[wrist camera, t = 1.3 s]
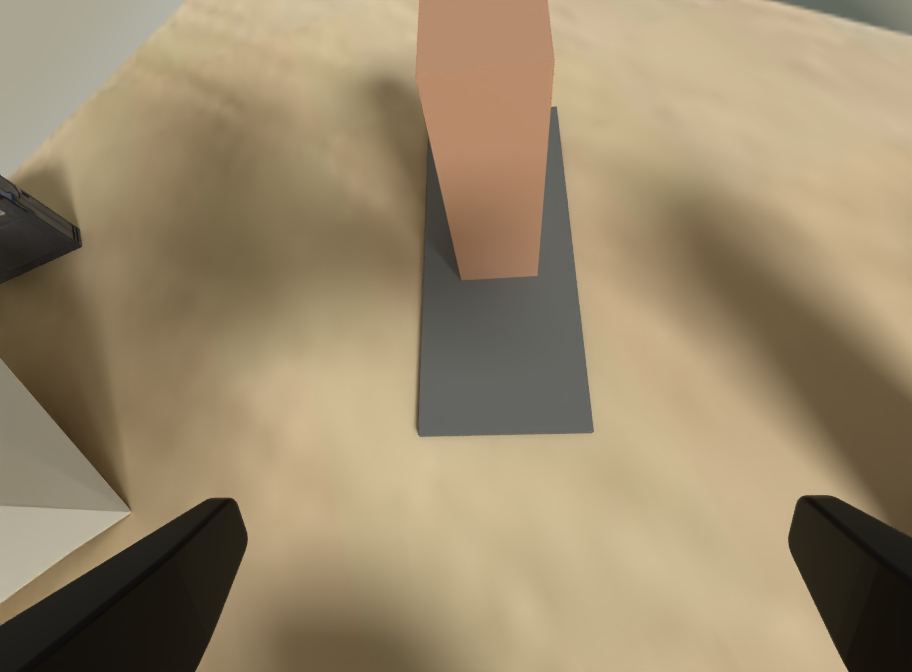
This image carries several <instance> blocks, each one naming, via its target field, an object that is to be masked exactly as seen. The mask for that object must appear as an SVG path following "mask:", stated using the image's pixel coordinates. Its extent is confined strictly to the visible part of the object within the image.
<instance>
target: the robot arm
mask: <svg viewBox="0 0 912 672" xmlns="http://www.w3.org/2000/svg"><path fill="white" fill-rule="evenodd" d="M247 541H248V536H247V531H246V528H245V525H244V522H243V519H242V516H241V513H240V510H239V507H238V504H237V502H236V501H235V500H234V499H232V498H210V499H207V500H205V501H203V502H202V503H200V504H199V505H197V506H195V507H194V508H192V509H190V510H189V511H187V512H185V513H184V514H182V515H181V516H179V517H177V518H176V519H174V520H172V521H171V522H169V523H167V524H166V525H164V526H163V527H161V528H159V529H158V530H156V531H154V532H153V533H151V534H149V535H148V536H146V537H144V538H143V539H141V540H140V541H138V542H136V543H135V544H133V545H131V546H130V547H128V548H126V549H125V550H123V551H122V552H120V553H118V554H117V555H115V556H113V557H112V558H110V559H108V560H107V561H105V562H104V563H102V564H100V565H99V566H97V567H95V568H94V569H92V570H90V571H89V572H87V573H86V574H84V575H82V576H81V577H79V578H77V579H76V580H74V581H72V582H71V583H69V584H68V585H66V586H64V587H63V588H61V589H59V590H58V591H56V592H54V593H53V594H51V595H50V596H48V597H46V598H45V599H43V600H41V601H40V602H38V603H36V604H35V605H33V606H32V607H30V608H28V609H27V610H25V611H23V612H22V613H20V614H18V615H17V616H15V617H13V618H12V619H10V620H9V621H7V622H5V623H4V624H2V625H0V672H195V671H196V669H197V667H198V665H199V663H200V661H201V659H202V657H203V654H204V652H205V650H206V648H207V646H208V644H209V642H210V639H211V637H212V635H213V632H214V630H215V627H216V625H217V622H218V620H219V617H220V615H221V612H222V610H223V607H224V604H225V602H226V599H227V597H228V594H229V592H230V589H231V586H232V584H233V581H234V579H235V576H236V574H237V571H238V568H239V566H240V563H241V561H242V558H243V555H244V553H245V550H246V547H247ZM788 543H789V548H790V552H791V554H792V557H793V559H794V561H795V563H796V565H797V567H798V569H799V571H800V573H801V576H802V578H803V580H804V582H805V584H806V586H807V588H808V590H809V592H810V594H811V597H812V599H813V601H814V603H815V605H816V607H817V609H818V611H819V613H820V616H821V618H822V620H823V622H824V624H825V626H826V628H827V630H828V632H829V634H830V637H831V639H832V641H833V643H834V645H835V647H836V649H837V651H838V653H839V655H840V657H841V659H842V661H843V663H844V664H845V666H846V668H847V670H848V672H912V538H911V537H910V536H908V535H906V534H904V533H902V532H900V531H898V530H896V529H895V528H893V527H891V526H889V525H887V524H885V523H883V522H881V521H880V520H878V519H876V518H874V517H872V516H870V515H868V514H866V513H865V512H863V511H861V510H859V509H857V508H855V507H853V506H851V505H850V504H848V503H846V502H844V501H842V500H840V499H838V498H836V497H834V496H829V495H805V496H802V497H800V498H799V499H798V500H797V503H796V507H795V511H794V515H793V519H792V523H791V527H790V531H789V536H788Z"/></svg>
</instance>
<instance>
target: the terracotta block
mask: <svg viewBox="0 0 912 672" xmlns="http://www.w3.org/2000/svg"><path fill="white" fill-rule="evenodd" d="M554 63H555V60H554V52H553V44H552V35H551V27H550V18H549V10H548V1H547V0H419V16H418V36H417V55H416V75H415V77H416V82H417V86H418V91H419V95H420V99H421V104H422V108H423V113H424V117H425V122H426V126H427V131H428V135H429V139H430V144H431V148H432V153H433V157H434V162H435V166H436V170H437V175H438V179H439V184H440V188H441V193H442V197H443V202H444V206H445V210H446V215H447V219H448V224H449V228H450V233H451V237H452V241H453V246H454V250H455V255H456V259H457V264H458V268H459V273H460V277H461V280H477V279H493V278H510V277H527V276H537V275H538V263H539V250H540V238H541V225H542V213H543V200H544V188H545V175H546V163H547V150H548V138H549V125H550V113H551V100H552V88H553V75H554Z"/></svg>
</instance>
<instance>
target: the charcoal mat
mask: <svg viewBox="0 0 912 672" xmlns="http://www.w3.org/2000/svg"><path fill="white" fill-rule="evenodd" d="M593 432H594V429H593V421H592V412H591V403H590V394H589V386H588V377H587V368H586V359H585V351H584V342H583V333H582V324H581V316H580V307H579V298H578V289H577V281H576V272H575V263H574V255H573V246H572V237H571V228H570V220H569V211H568V202H567V193H566V185H565V176H564V167H563V158H562V150H561V141H560V132H559V123H558V115H557V107H551V113H550V125H549V138H548V150H547V163H546V175H545V188H544V200H543V213H542V225H541V238H540V250H539V263H538V275H537V276H527V277H510V278H493V279H477V280H461V277H460V273H459V268H458V264H457V259H456V255H455V250H454V246H453V241H452V237H451V233H450V228H449V224H448V219H447V215H446V210H445V206H444V202H443V197H442V193H441V188H440V184H439V179H438V175H437V170H436V166H435V162H434V157H433V153H432V148H431V144H430V139H429V135H428V159H427V189H426V219H425V249H424V279H423V309H422V338H421V368H420V398H419V428H418V435H419V436H420V437H425V436H472V435H519V434H567V433H593Z"/></svg>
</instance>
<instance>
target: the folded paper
mask: <svg viewBox="0 0 912 672" xmlns="http://www.w3.org/2000/svg"><path fill="white" fill-rule="evenodd" d="M130 513H132V511H131V510H130V509H129V508H128V507H127V506H126V504H125V503H124V502H123V501H122V500H121V499H120V497H119V496H118V495H117V494H116V493H115V492H114V490H113V489H112V488H111V487H110V486H109V485H108V483H107V482H106V481H105V480H104V479H103V478H102V476H101V475H100V474H99V473H98V472H97V470H96V469H95V468H94V467H93V466H92V465H91V463H90V462H89V461H88V460H87V459H86V458H85V456H84V455H83V454H82V453H81V452H80V451H79V449H78V448H77V447H76V446H75V445H74V444H73V442H72V441H71V440H70V439H69V438H68V437H67V435H66V434H65V433H64V432H63V431H62V430H61V428H60V427H59V426H58V425H57V424H56V423H55V421H54V420H53V419H52V418H51V417H50V416H49V414H48V413H47V412H46V411H45V410H44V409H43V407H42V406H41V405H40V404H39V403H38V402H37V400H36V399H35V398H34V397H33V396H32V395H31V393H30V392H29V391H28V390H27V389H26V388H25V386H24V385H23V384H22V383H21V382H20V381H19V379H18V378H17V377H16V376H15V375H14V374H13V372H12V371H11V370H10V369H9V368H8V367H7V365H6V364H5V363H4V362H3V361H2V360H1V358H0V603H2V602H3V601H4V600H6V599H7V598H9V597H10V596H11V595H13V594H14V593H16V592H17V591H18V590H20V589H21V588H22V587H24V586H25V585H27V584H28V583H29V582H31V581H32V580H33V579H35V578H36V577H38V576H39V575H40V574H42V573H43V572H45V571H46V570H47V569H49V568H50V567H51V566H53V565H54V564H56V563H57V562H58V561H60V560H61V559H62V558H64V557H65V556H67V555H68V554H69V553H71V552H72V551H74V550H75V549H77V548H78V547H80V546H81V545H83V544H85V543H86V542H88V541H89V540H91V539H92V538H94V537H95V536H97V535H98V534H100V533H101V532H103V531H104V530H106V529H107V528H109V527H110V526H112V525H114V524H115V523H117V522H118V521H120V520H121V519H123V518H124V517H126V516H127V515H129V514H130Z"/></svg>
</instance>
